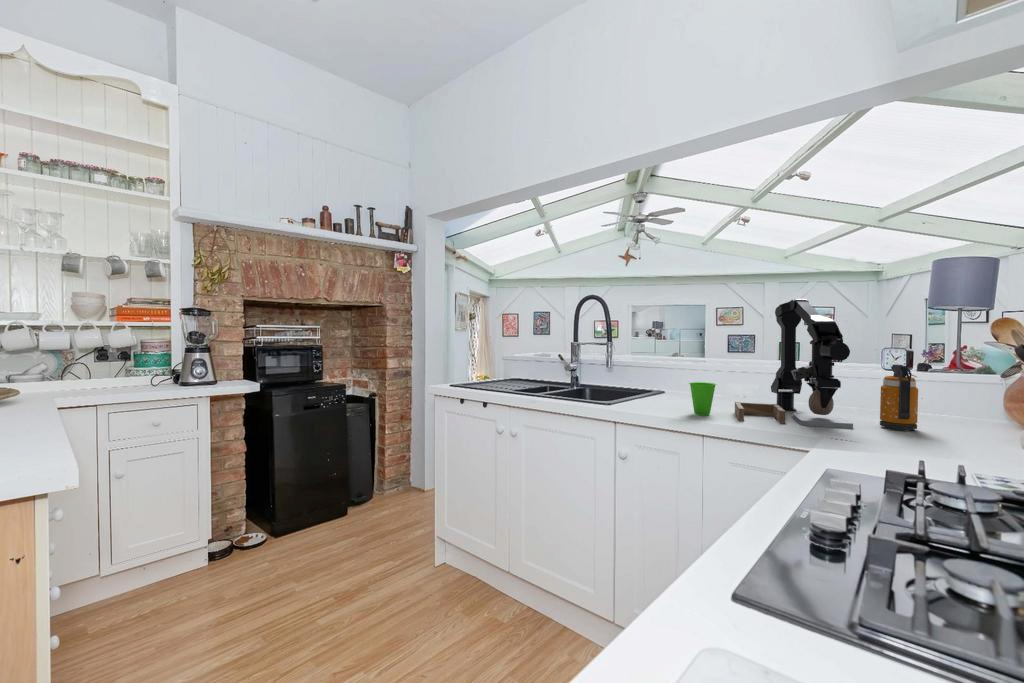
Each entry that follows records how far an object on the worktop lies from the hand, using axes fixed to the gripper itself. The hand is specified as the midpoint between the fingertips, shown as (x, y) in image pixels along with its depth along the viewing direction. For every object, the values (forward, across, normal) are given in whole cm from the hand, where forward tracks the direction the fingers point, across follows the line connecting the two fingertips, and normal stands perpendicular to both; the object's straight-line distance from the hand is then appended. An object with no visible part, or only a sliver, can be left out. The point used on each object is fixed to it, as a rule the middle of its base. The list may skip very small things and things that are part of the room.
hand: (820, 406), depth 155 cm
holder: (+5, -1, -18) cm, 19 cm away
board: (+5, 0, 0) cm, 5 cm away
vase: (+3, 0, 0) cm, 3 cm away
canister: (+6, +3, +20) cm, 21 cm away
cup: (+6, -2, -36) cm, 36 cm away
